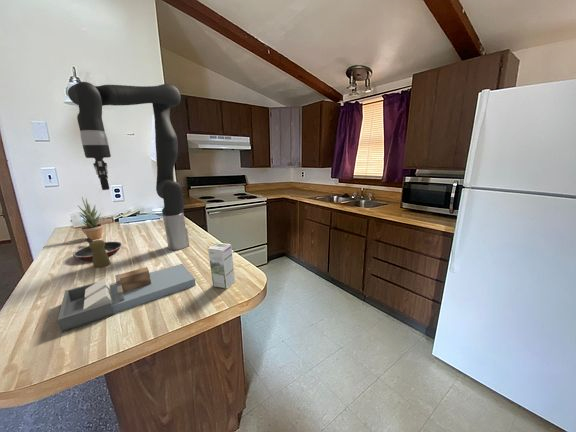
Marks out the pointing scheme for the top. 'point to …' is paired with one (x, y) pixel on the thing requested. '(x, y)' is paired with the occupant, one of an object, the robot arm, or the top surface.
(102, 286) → the tile
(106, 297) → the tile
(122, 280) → the scraper
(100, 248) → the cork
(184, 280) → the board
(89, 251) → the frying pan
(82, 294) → the tray
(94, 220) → the potted plant
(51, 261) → the top surface
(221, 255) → the syrup box
